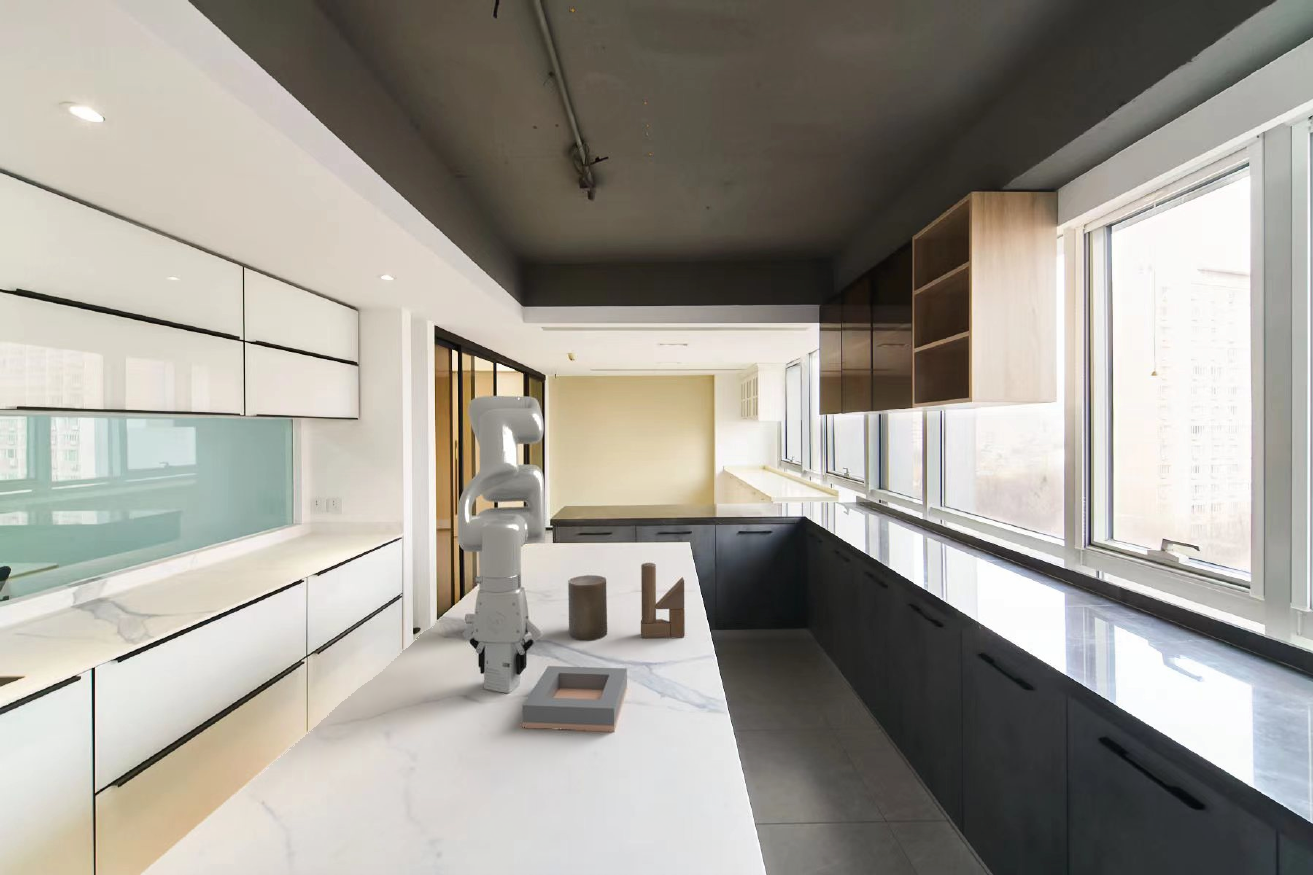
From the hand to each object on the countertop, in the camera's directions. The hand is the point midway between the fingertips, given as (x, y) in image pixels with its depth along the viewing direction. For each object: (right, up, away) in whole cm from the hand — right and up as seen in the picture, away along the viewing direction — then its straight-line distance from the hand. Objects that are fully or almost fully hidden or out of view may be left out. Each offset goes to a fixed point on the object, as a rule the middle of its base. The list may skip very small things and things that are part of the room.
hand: (502, 670), depth 113 cm
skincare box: (0, -3, 0) cm, 3 cm away
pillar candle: (+13, -3, +29) cm, 32 cm away
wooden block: (+32, -3, +27) cm, 43 cm away
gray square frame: (+16, -3, -8) cm, 19 cm away
